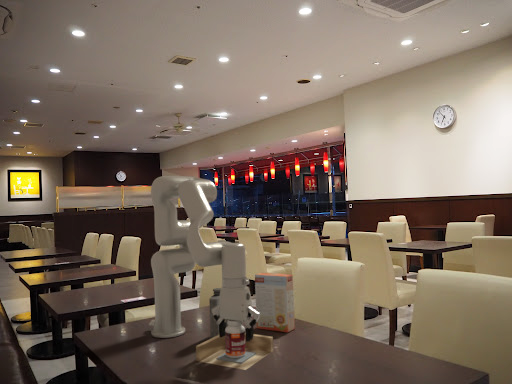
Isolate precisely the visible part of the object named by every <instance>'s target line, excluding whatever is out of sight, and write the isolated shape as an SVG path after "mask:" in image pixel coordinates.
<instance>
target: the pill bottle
mask: <svg viewBox="0 0 512 384" xmlns="http://www.w3.org/2000/svg"><path fill="white" fill-rule="evenodd" d="M227 324H228V326H227V327H226V329H225V346H226V356H227V357H230V358H240V357H243V356H244V355H245V333H246V330H245V329H246V328H245V326H244V325H243V321H234V320H227Z"/></svg>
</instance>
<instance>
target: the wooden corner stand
mask: <svg viewBox="0 0 512 384" xmlns="http://www.w3.org/2000/svg"><path fill="white" fill-rule="evenodd" d="M245 351H248V352H254V353H256V355H254V356H253V357H251V358H250V359H248V360H247V361H245V362H244V363H242V364H239V363H234V362H228V361H223V360H217V359H216V358H217V357H219V356H221V355H222V354H224V353H226V346H225V336H223V337H219V335H217V336H215V337H213V338H211V337H210V338H209V339H207V340H206V341H203V342H201V343H200V344H197V345H196V346H195V358H196V359H195V360H196V362H199V363H206V364H211V365H216V366H222V367H227V368H232V369H237V370H242V371H243V370H244V371H247V370H248V369H250V368H251V367H252V366H254V365H255V364H257V363H258V362H260V361H261V360H262V359H263V358H265V357H267V356H268V355H270V354H271V353H273V352H274V337H273V336H269V335H263V334H256V333H253V339H252V340H250V341H246V332H245Z"/></svg>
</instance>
